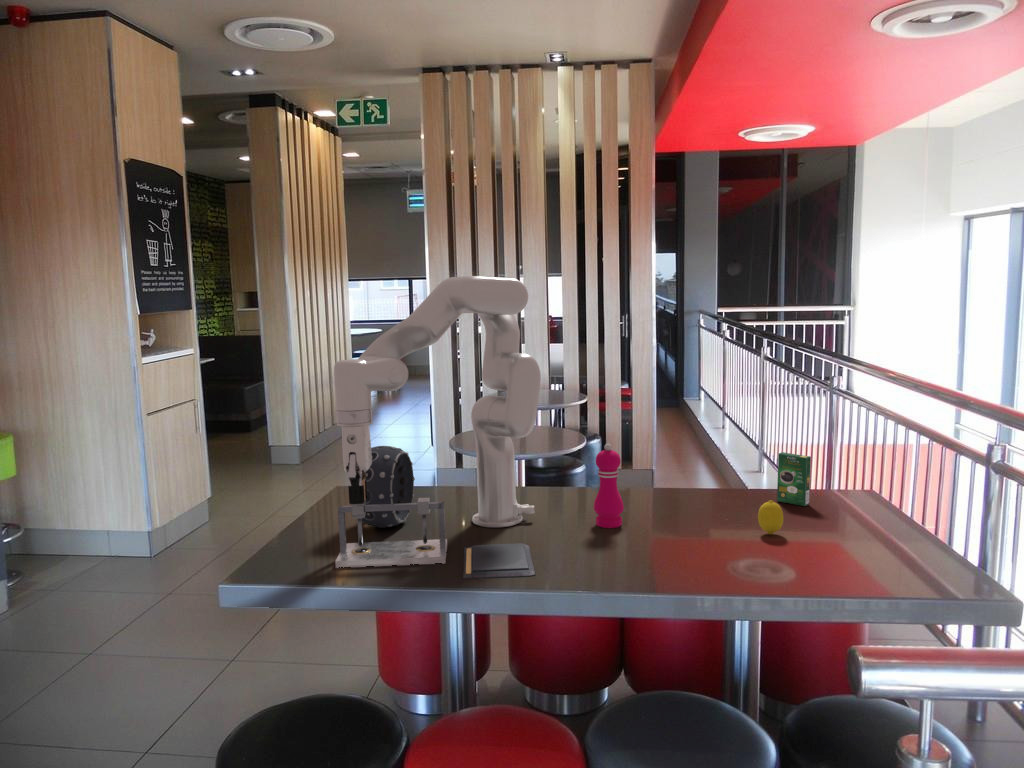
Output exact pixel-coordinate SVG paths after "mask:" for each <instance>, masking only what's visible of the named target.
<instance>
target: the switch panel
mask: <svg viewBox="0 0 1024 768" xmlns="http://www.w3.org/2000/svg"><path fill="white" fill-rule="evenodd" d="M430 499H431V498H430V497H418V499H417V502H412V503H401V504H376V505H364V512H372V511H397V510H411V511H413V510H414V511H415V510H416V511H417V515H421V518H422V519H421V522H422V523H421V524H422V539H420V540H419V539H418V540H417V539H416V540H393V541H371V542H366V541H365V542H363V546H361V547H360V546H359V542H348V543H347V530H346V529H347V528H346V514H347V513H352V505H351V504H350V505H338V506H337V513H338V514H337V515H338V516H337V517H338V533H339V537H338V538H339V553H338V555H337V557H336V559H335V561H334V562H335V569H343V568H344V567H351V568H367V567H366V566H374V567H392V565H397V566H411V565H410V564H413V565H412V566H415V565H414V564H419V565H436V564H435V563H442V564H446V560H447V553H448V552H447V551H448V538H446V517H445V516H446V515H445V502H444V501H431V502H430ZM431 510H438V527H439V529H438V531H439V533H438V534H439V538H438V539H428V528H427V527H428V526H427V523H428V521H427V515H430V511H431ZM446 552H447V553H446ZM339 567H340V568H339ZM341 567H343V568H341ZM344 569H345V568H344Z"/></svg>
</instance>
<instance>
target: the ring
mask: <svg viewBox="0 0 1024 768" xmlns="http://www.w3.org/2000/svg"><path fill="white" fill-rule="evenodd" d="M371 453H372V464H371V466H370V468H369V469H368V470H367V471H366V480H367V498H366V500H365V504H366V505H376V504H401V503H413V501H414V500H413V499H414V498H415V494H414V489H415V479H416V478H415V476H414V468H413V464H414V462H413V461H412V460H411V458H410V456H409V452H407V451H405V450H403V449H402V448H400V447H395V446H390V445H379V446H378V445H377V446H373V447H372V446H371ZM351 505H352V504H350V506H351ZM411 512H412V510H397V511H372V512H366V515H365V517H364V518H362V524H364V525H366V526H368V527H369V526H370V527H374V528H384V529H385V528H391V527H396V526H399V525H400V524H402V523H405V522H406V521H407V518H408V516H409V514H410V513H411Z"/></svg>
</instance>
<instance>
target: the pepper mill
mask: <svg viewBox="0 0 1024 768" xmlns="http://www.w3.org/2000/svg"><path fill="white" fill-rule="evenodd" d="M603 448H604V449H603V450H601V451H599V452H597V455H596V458H595V465H596V466H597V468H598V470H597V476H598V477H599V490H598V493H597V495H596V497H595V499H594V502H593V510H594V512H595V514H596V515H597V516H596V517H595V524H596V526H598V527H599V528H604V529H615V528H619V527H621V526H622V524H623V518H622V516H620V515H622V513H623V512H624V509H625V507H624V502H623V499H622V496H621V494H620V492H619V490H618V482H617V479H618V477H619V470H618V468H619V467H620V466H621V463H622V461H621V456H620V454H619V453H618V452H617V451H615V450H614V449H613V447H612V445H611V444H610V443H605V445H604V447H603ZM612 449H613V450H612Z"/></svg>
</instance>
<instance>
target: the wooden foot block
mask: <svg viewBox="0 0 1024 768" xmlns="http://www.w3.org/2000/svg"><path fill="white" fill-rule="evenodd" d="M362 485H364V498H365V500H366V493H365V477H362ZM364 505H366V504H365V502H364V504H352V512H351V513H352V514H351V515H352V519H356V521H357V537H358V539H357V540H358V543H359V546H360V547H361V546H363V543H364V539H363V523H362V518H364V517H365V515H366V512H364Z"/></svg>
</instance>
